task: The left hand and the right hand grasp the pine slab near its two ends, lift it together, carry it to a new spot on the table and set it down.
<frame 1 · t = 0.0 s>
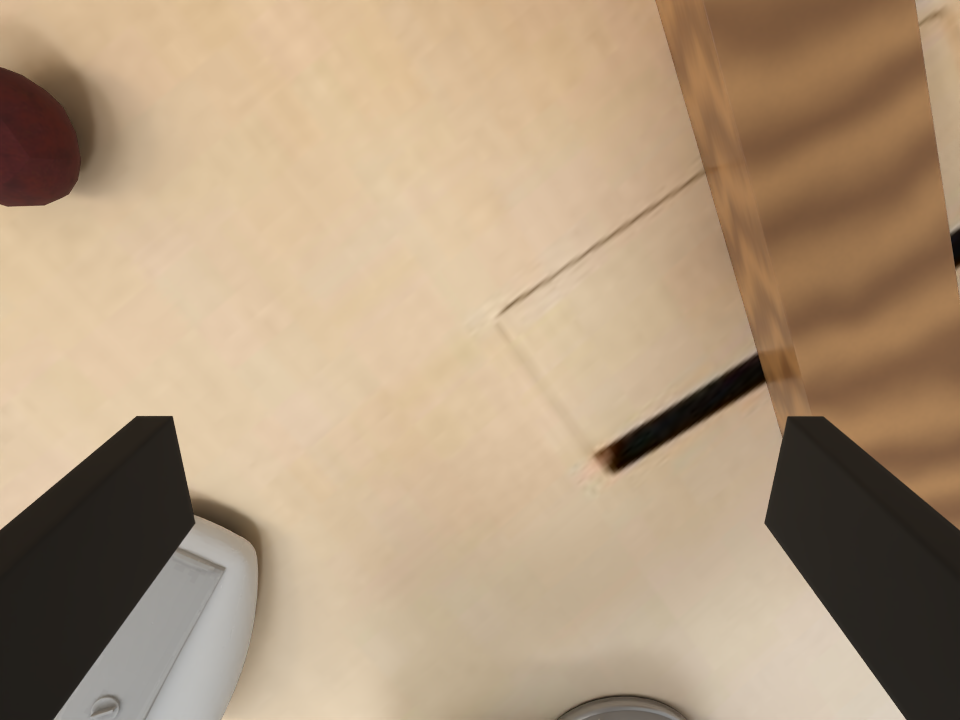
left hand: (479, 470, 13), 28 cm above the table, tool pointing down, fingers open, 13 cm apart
projector: (168, 606, 50), on the table
slab: (790, 194, 38), on the table
dark red rounded piece: (47, 139, 37), on the table
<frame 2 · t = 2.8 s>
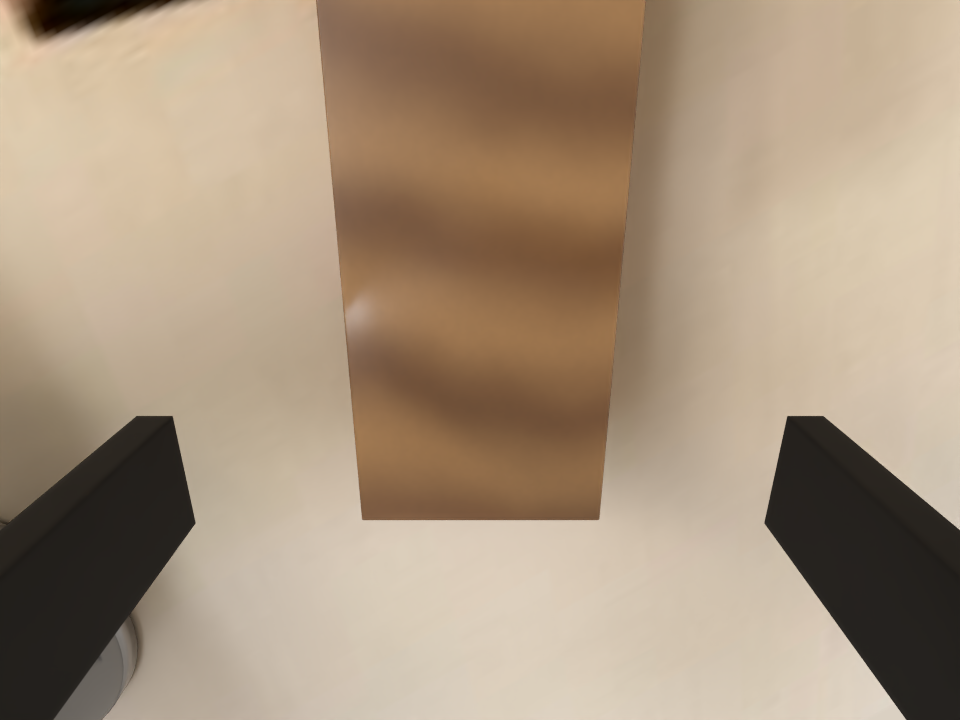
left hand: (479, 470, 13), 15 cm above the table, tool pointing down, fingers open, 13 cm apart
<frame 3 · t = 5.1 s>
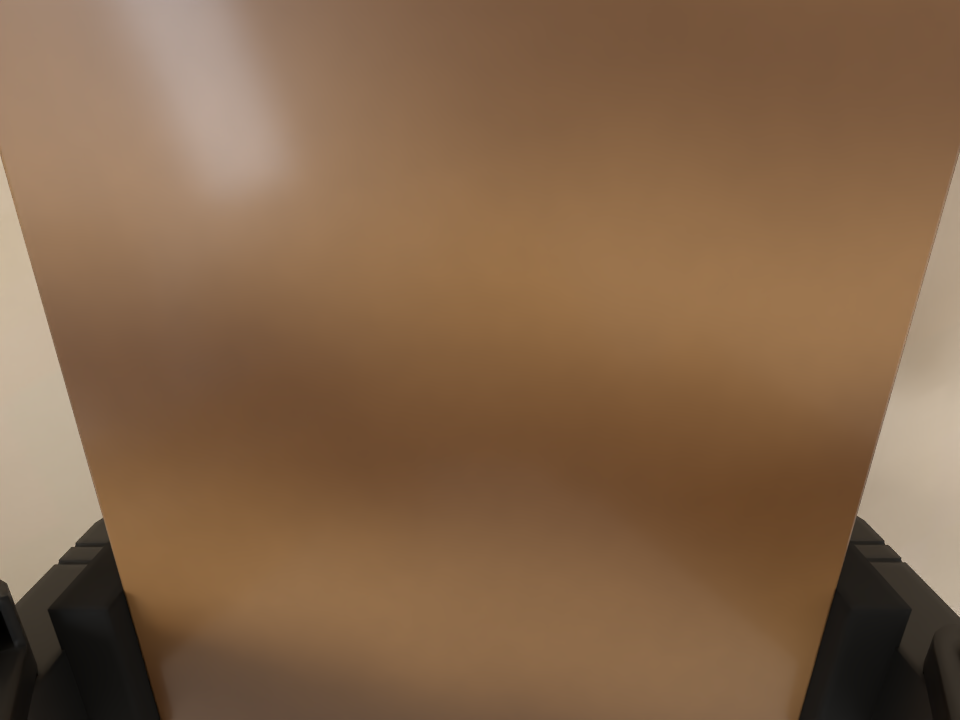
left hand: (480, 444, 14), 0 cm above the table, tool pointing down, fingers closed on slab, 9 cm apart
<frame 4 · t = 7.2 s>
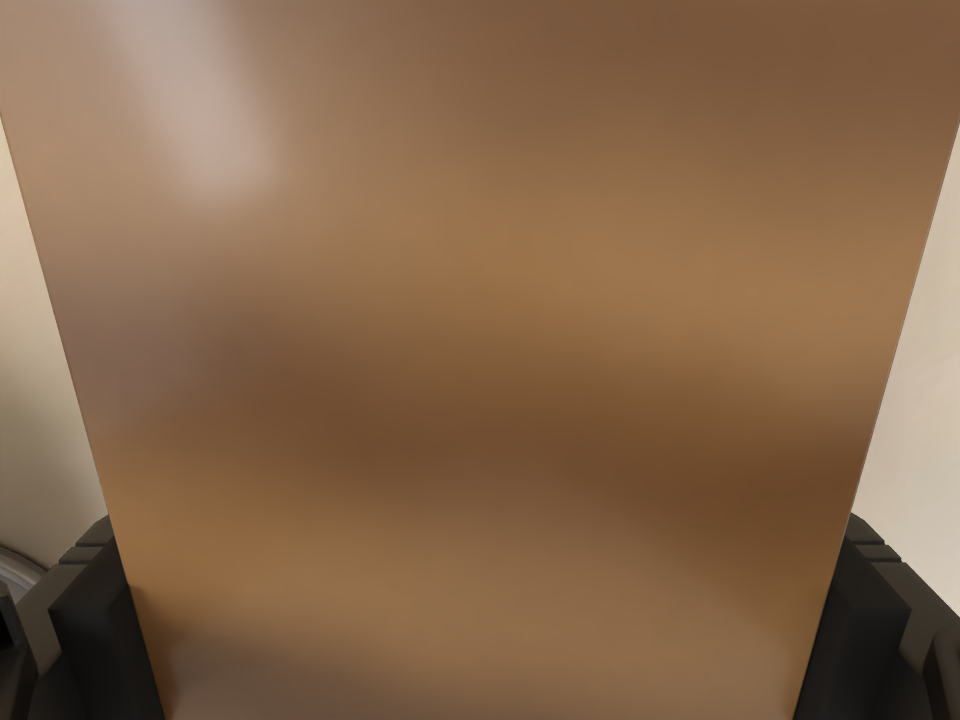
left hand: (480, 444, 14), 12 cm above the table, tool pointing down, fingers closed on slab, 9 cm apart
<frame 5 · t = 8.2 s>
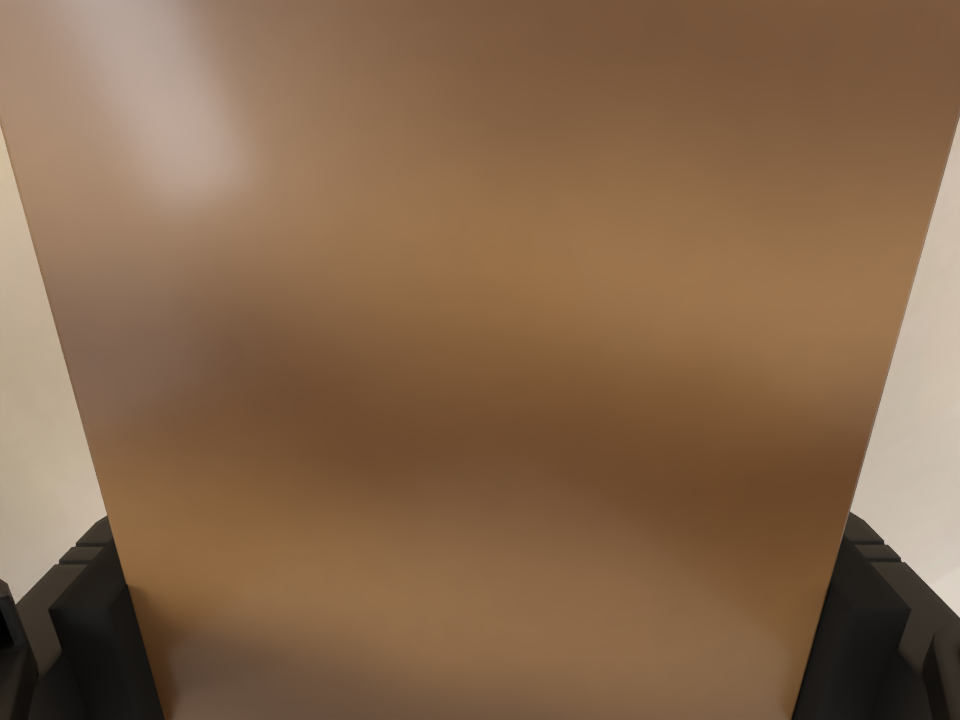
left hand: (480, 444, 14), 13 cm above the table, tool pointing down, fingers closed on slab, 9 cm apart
when the left hand's fingers open (2 cm above the table, at t = 11.6 s): slab drops 1 cm, on the table.
when the right hand's fingers open (2 cm above the table, at t = 11.7 s): slab drops 1 cm, on the table.
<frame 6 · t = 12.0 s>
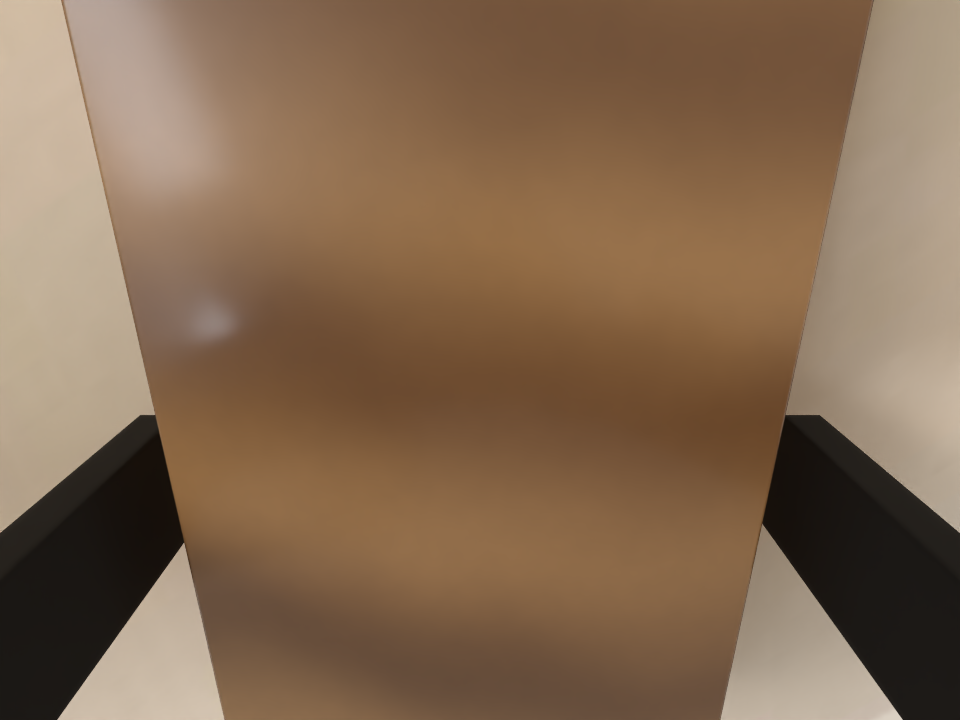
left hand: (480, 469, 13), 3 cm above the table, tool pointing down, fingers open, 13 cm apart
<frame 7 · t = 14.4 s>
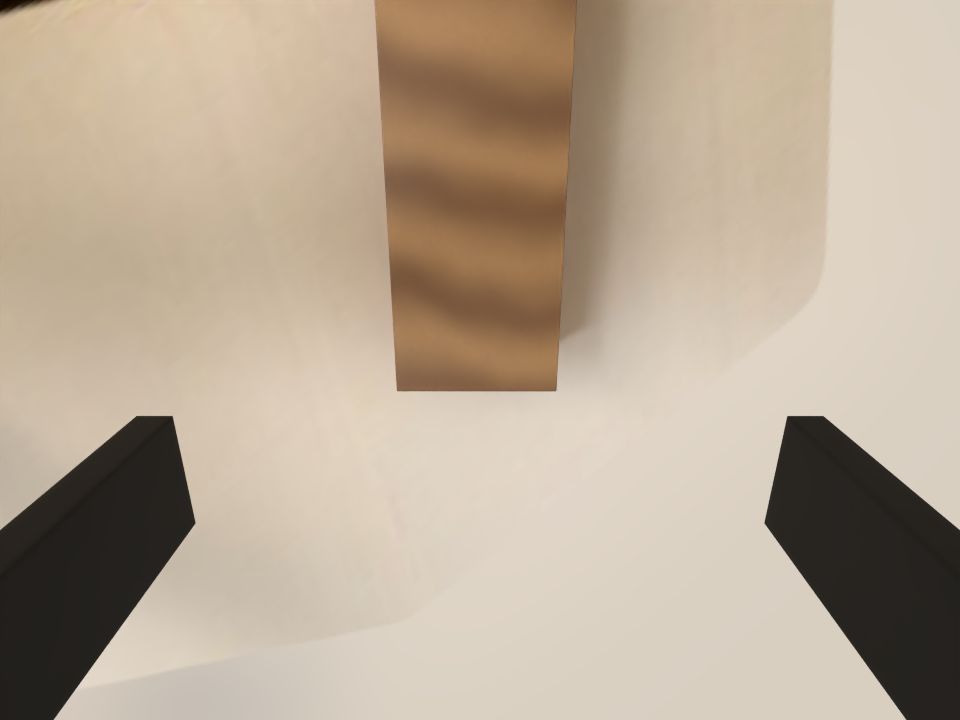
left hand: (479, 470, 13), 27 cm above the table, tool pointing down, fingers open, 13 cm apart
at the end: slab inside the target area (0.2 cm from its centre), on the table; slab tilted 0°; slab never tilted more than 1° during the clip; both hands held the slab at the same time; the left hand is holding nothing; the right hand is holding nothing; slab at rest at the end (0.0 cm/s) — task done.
